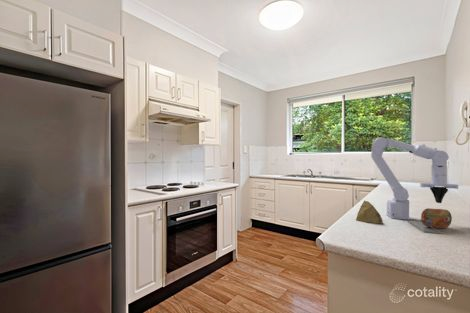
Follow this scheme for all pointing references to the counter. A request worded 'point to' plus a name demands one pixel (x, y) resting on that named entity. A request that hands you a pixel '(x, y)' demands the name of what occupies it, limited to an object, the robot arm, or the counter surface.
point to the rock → (368, 213)
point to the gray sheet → (424, 227)
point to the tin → (436, 218)
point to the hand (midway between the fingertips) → (438, 202)
